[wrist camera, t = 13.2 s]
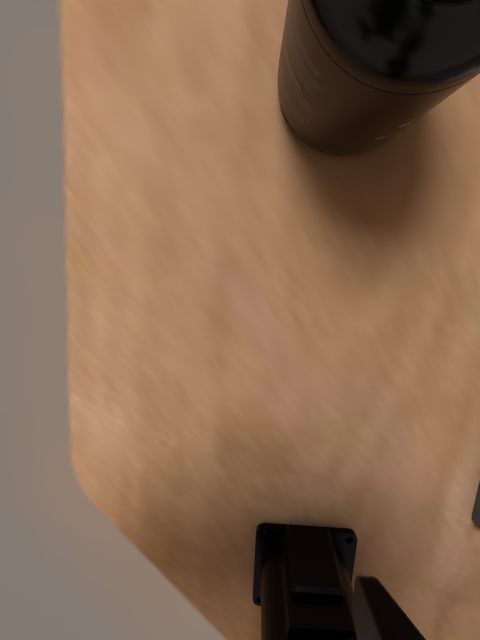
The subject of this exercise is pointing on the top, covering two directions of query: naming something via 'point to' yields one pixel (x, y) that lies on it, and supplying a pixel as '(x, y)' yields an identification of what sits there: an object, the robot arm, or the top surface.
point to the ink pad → (477, 509)
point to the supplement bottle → (372, 66)
